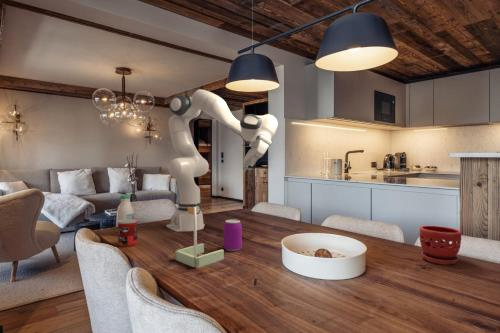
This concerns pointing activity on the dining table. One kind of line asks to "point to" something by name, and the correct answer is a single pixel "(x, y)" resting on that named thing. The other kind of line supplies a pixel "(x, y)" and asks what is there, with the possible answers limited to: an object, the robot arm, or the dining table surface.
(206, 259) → the cup corral
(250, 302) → the dining table surface
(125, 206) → the milk bottle
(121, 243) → the canned food
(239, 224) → the beverage can
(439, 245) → the plant pot
